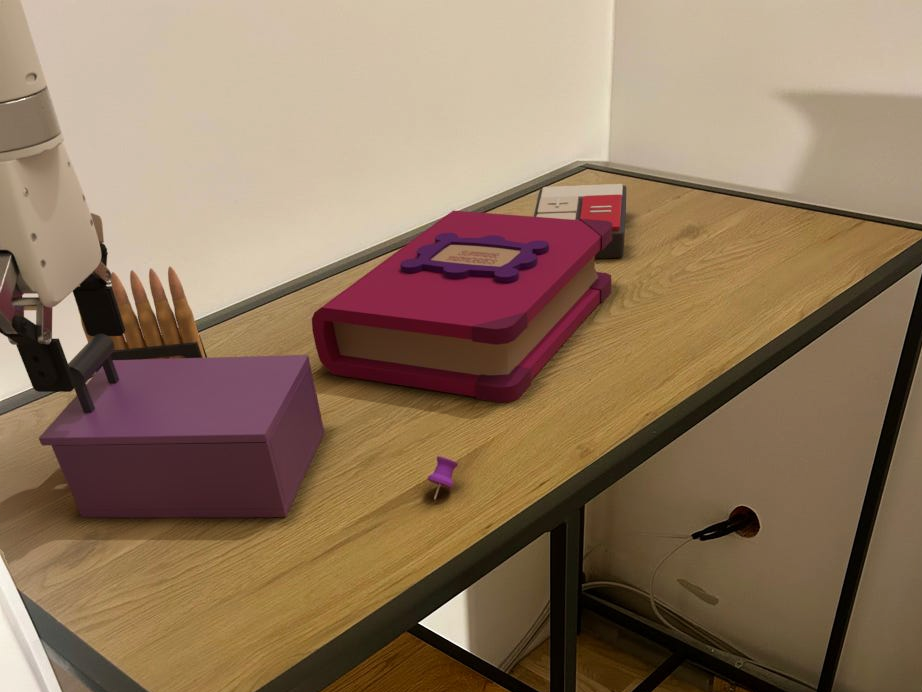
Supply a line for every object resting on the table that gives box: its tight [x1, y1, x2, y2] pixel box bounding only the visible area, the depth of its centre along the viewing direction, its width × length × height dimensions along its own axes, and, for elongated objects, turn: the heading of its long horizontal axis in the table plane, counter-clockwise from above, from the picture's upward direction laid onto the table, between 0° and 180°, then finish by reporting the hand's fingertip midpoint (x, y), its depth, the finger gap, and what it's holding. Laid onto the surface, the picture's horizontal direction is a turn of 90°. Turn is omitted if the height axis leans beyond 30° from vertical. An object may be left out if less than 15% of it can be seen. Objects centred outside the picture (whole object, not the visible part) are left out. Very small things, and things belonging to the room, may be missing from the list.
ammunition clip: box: [77, 266, 208, 374], centre depth 90 cm, size 11×2×12 cm, turn 93°
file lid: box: [38, 334, 311, 446], centre depth 76 cm, size 18×13×5 cm
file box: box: [51, 362, 326, 519], centre depth 80 cm, size 17×13×7 cm
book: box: [311, 210, 612, 403], centre depth 97 cm, size 21×28×8 cm
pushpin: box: [427, 456, 459, 501], centre depth 76 cm, size 2×3×3 cm
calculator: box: [533, 183, 627, 260], centre depth 116 cm, size 11×4×15 cm
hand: (82, 361), depth 76 cm, fingers open, 9 cm apart
